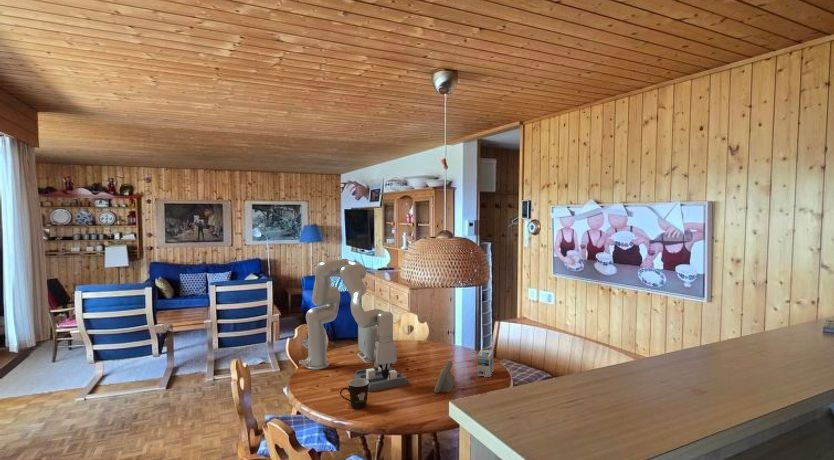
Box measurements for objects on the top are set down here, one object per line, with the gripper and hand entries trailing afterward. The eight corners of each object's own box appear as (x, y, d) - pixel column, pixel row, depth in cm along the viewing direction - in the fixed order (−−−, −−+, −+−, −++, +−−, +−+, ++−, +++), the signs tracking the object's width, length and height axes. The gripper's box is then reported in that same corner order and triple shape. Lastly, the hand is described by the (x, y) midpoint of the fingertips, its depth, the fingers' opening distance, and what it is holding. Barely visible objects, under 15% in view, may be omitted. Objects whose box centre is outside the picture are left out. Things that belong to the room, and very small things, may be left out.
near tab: (390, 381, 198) (390, 373, 198) (387, 379, 201) (387, 371, 201) (397, 380, 200) (396, 371, 200) (394, 378, 202) (394, 369, 202)
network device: (354, 352, 249) (354, 318, 249) (368, 350, 253) (368, 317, 252) (368, 365, 226) (368, 328, 226) (383, 363, 230) (383, 327, 229)
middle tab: (368, 379, 201) (368, 371, 201) (366, 377, 203) (366, 369, 203) (375, 378, 202) (375, 370, 202) (372, 376, 205) (372, 368, 205)
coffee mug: (369, 401, 182) (369, 378, 182) (368, 410, 173) (368, 386, 173) (342, 401, 181) (342, 378, 181) (339, 410, 173) (339, 386, 173)
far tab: (380, 371, 211) (380, 363, 211) (378, 369, 214) (378, 362, 214) (386, 370, 213) (386, 362, 213) (384, 368, 215) (384, 360, 215)
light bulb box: (490, 378, 208) (490, 356, 208) (476, 376, 210) (477, 355, 210) (493, 370, 218) (493, 350, 218) (480, 369, 220) (480, 349, 220)
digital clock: (442, 380, 205) (442, 358, 205) (460, 383, 201) (460, 361, 201) (427, 392, 191) (427, 369, 191) (445, 396, 187) (445, 372, 187)
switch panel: (368, 391, 192) (368, 385, 192) (354, 377, 209) (353, 371, 209) (407, 384, 201) (407, 377, 201) (390, 370, 219) (390, 364, 218)
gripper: (373, 342, 191) (373, 382, 192) (402, 338, 198) (402, 377, 199) (367, 338, 198) (367, 377, 199) (396, 334, 205) (396, 372, 205)
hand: (385, 377), depth 199 cm, fingers closed
